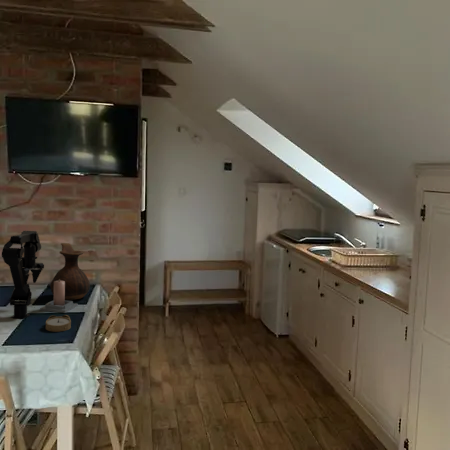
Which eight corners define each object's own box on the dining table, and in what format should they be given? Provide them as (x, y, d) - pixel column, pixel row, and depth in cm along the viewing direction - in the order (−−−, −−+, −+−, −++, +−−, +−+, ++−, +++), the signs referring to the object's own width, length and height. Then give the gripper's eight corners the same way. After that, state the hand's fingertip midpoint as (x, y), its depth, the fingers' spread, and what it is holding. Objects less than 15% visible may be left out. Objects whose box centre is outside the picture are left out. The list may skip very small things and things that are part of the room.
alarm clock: (44, 326, 227) (47, 311, 241) (44, 336, 229) (47, 320, 242) (70, 325, 230) (71, 310, 244) (70, 335, 231) (71, 320, 245)
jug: (95, 294, 298) (96, 244, 295) (81, 303, 277) (82, 249, 274) (60, 291, 300) (60, 242, 297) (43, 300, 279) (44, 247, 276)
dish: (65, 312, 259) (65, 307, 258) (40, 310, 261) (40, 305, 261) (77, 305, 272) (77, 300, 272) (53, 303, 275) (53, 298, 274)
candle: (65, 306, 265) (65, 280, 264) (54, 307, 263) (54, 281, 261) (63, 304, 270) (63, 278, 269) (52, 305, 267) (52, 278, 266)
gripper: (25, 251, 269) (25, 279, 271) (4, 256, 251) (4, 287, 253) (44, 252, 267) (44, 281, 269) (24, 258, 249) (24, 289, 251)
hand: (29, 284), depth 261 cm, fingers open, 9 cm apart
